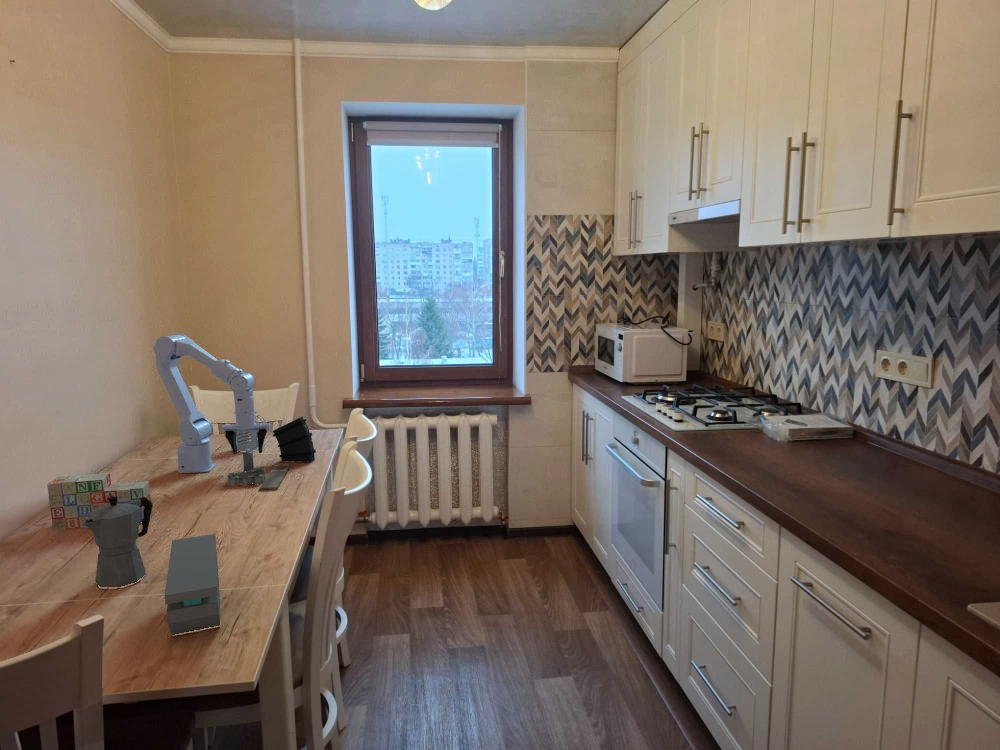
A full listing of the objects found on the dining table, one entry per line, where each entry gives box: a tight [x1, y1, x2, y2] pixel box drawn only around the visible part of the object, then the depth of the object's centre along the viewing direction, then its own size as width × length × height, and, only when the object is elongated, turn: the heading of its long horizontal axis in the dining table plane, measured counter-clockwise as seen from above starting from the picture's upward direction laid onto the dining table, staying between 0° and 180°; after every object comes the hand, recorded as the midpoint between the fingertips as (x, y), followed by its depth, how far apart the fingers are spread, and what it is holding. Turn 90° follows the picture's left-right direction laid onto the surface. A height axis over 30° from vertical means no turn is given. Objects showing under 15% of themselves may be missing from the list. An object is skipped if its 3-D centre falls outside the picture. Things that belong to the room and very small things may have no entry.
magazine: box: [272, 416, 317, 463], centre depth 225 cm, size 4×13×15 cm, turn 83°
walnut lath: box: [259, 463, 291, 492], centre depth 207 cm, size 5×24×1 cm, turn 9°
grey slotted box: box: [164, 533, 221, 636], centre depth 123 cm, size 25×8×11 cm, turn 23°
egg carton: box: [226, 466, 266, 487], centre depth 203 cm, size 11×8×4 cm
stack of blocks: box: [47, 472, 153, 531], centre depth 171 cm, size 21×6×12 cm, turn 103°
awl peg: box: [242, 449, 255, 472], centre depth 215 cm, size 3×3×7 cm
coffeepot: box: [83, 496, 154, 587], centre depth 139 cm, size 15×9×18 cm, turn 159°
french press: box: [233, 407, 267, 452], centre depth 240 cm, size 10×12×25 cm
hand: (248, 453), depth 215 cm, fingers open, 7 cm apart
